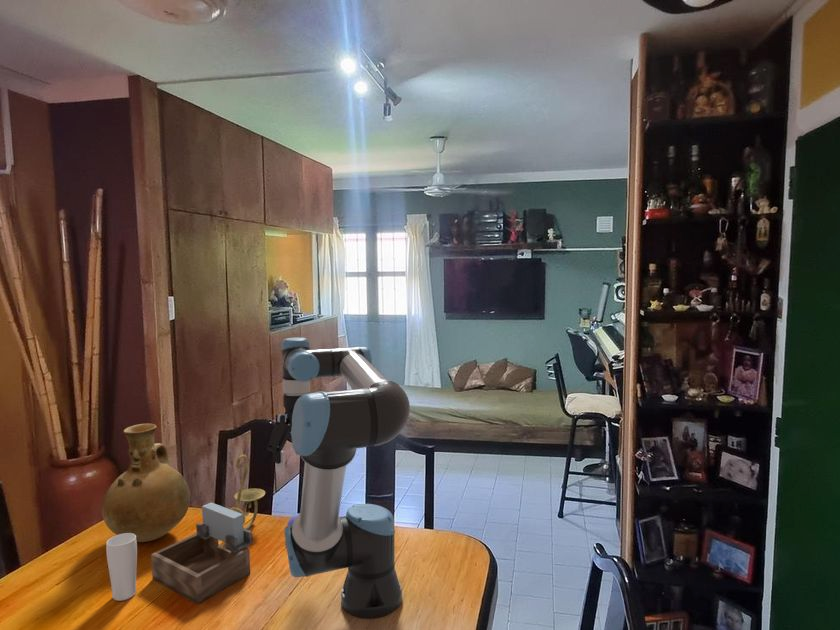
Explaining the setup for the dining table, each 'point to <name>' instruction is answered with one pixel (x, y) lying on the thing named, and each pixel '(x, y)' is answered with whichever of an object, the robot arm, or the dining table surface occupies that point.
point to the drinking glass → (122, 565)
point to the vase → (146, 490)
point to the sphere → (292, 519)
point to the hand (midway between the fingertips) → (298, 466)
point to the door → (223, 522)
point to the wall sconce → (247, 494)
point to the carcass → (202, 564)
